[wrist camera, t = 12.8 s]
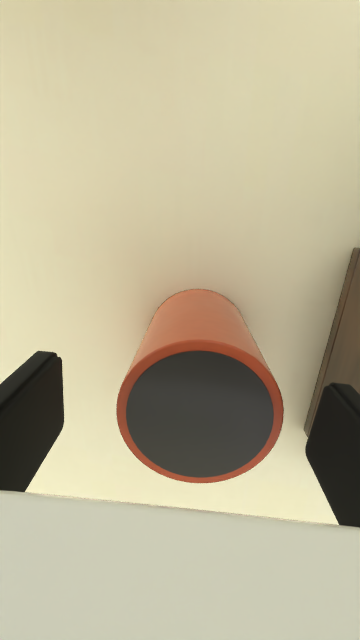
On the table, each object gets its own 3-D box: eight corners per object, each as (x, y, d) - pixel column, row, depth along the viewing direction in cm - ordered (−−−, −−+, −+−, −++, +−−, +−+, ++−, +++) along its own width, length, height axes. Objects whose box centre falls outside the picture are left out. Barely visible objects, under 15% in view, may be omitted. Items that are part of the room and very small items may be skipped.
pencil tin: (133, 350, 20) (88, 440, 12) (179, 270, 19) (166, 307, 10) (212, 393, 21) (224, 508, 12) (264, 320, 19) (320, 395, 11)
